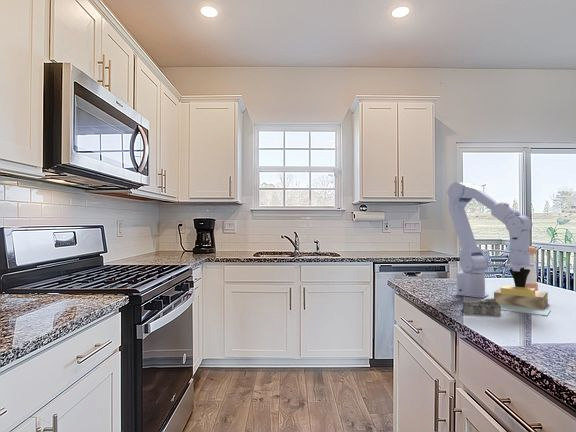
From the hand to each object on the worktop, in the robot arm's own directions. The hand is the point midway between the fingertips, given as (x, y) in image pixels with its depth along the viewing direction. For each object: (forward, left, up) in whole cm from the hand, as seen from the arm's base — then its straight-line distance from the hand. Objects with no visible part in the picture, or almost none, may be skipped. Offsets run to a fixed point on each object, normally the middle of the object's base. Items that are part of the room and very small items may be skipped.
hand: (520, 290), depth 127 cm
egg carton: (-8, -20, -5) cm, 22 cm away
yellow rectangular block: (0, -4, -1) cm, 4 cm away
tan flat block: (0, +1, -5) cm, 5 cm away
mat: (0, -9, -5) cm, 11 cm away
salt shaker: (-2, +28, -5) cm, 28 cm away
